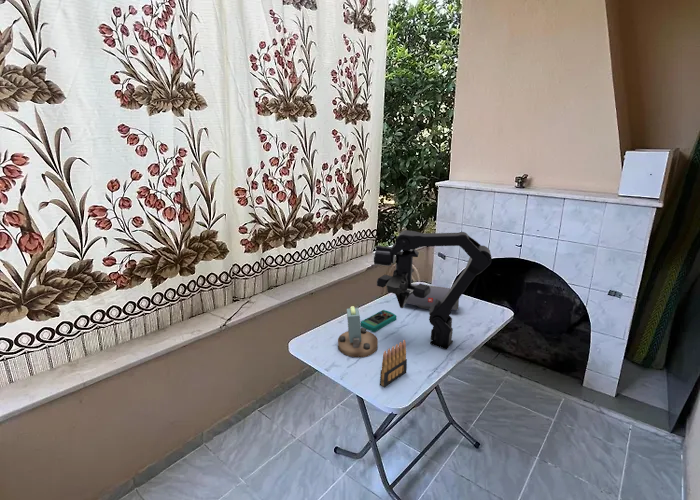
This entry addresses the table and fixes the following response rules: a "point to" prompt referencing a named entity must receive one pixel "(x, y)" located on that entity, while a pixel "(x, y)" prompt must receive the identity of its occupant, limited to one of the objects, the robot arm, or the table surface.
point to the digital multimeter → (378, 320)
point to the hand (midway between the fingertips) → (401, 307)
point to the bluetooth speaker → (430, 298)
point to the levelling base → (358, 344)
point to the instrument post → (353, 323)
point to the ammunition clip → (393, 364)
